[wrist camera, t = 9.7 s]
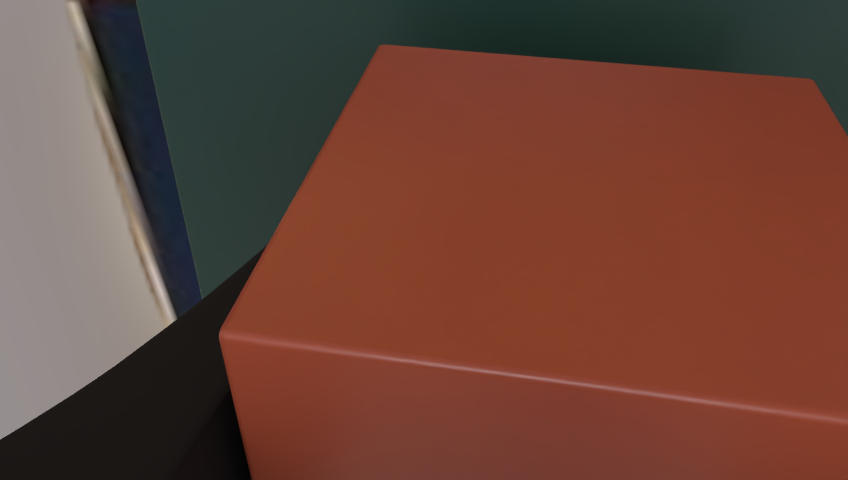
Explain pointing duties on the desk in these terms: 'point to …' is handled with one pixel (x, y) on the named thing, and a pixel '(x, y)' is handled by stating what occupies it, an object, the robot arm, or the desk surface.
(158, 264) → the desk surface
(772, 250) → the block
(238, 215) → the bin lid
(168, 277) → the desk surface
